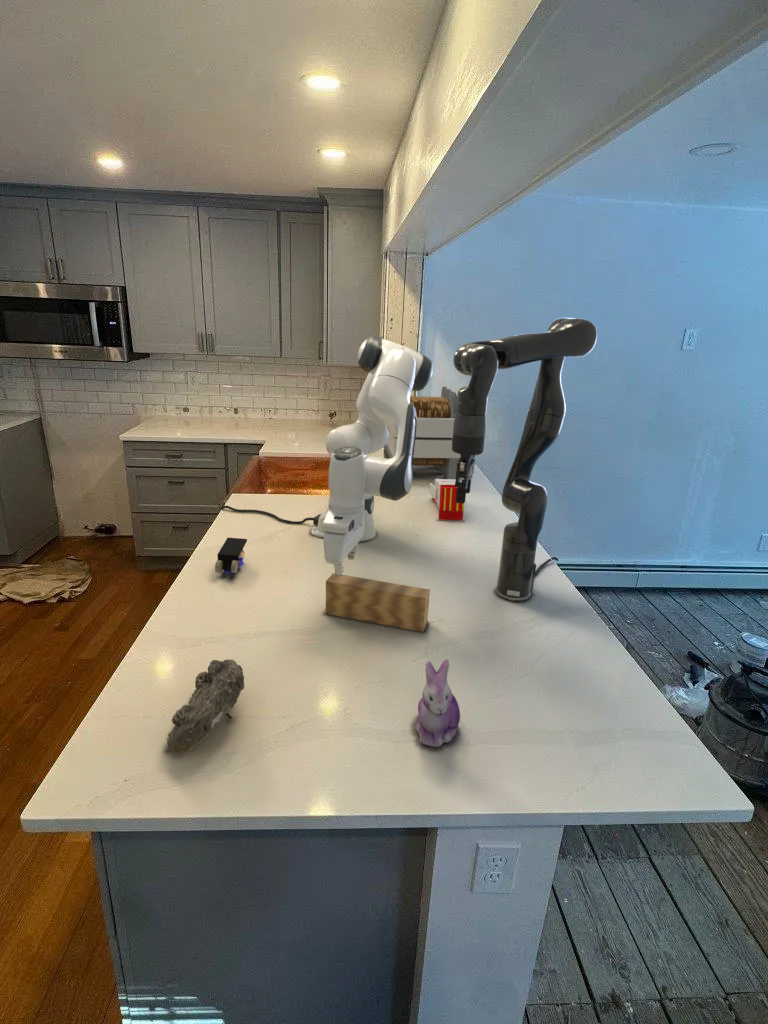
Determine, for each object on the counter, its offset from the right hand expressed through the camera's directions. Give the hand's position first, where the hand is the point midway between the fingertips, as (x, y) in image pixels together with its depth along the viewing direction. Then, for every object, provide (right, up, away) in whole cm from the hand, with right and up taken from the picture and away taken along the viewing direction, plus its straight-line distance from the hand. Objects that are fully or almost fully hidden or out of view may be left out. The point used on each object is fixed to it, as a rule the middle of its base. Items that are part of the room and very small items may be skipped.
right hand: (462, 497), depth 139 cm
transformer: (-2, +15, +136) cm, 137 cm away
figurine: (-9, -45, -32) cm, 56 cm away
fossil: (-52, -43, -31) cm, 74 cm away
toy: (+5, -2, +89) cm, 89 cm away
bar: (-21, -31, +6) cm, 38 cm away
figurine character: (-64, -21, +29) cm, 73 cm away
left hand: (-29, -17, +4) cm, 34 cm away
